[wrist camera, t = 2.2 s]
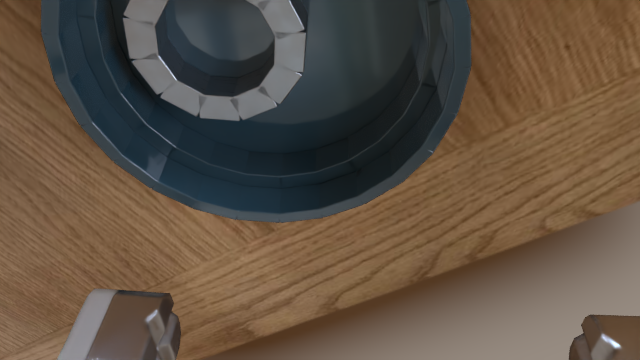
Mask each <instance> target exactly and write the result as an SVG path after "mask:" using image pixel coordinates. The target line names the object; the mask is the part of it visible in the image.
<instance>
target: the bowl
mask: <svg viewBox="0 0 640 360" xmlns="http://www.w3.org/2000/svg"><path fill="white" fill-rule="evenodd" d="M128 1H129V0H41V32H42V38H43V42H44V45H45V49H46V53H47V56H48V60H49V63H50V67H51V70H52V74H53V78H54V81H55V82H56V85H57V87H58V89H59V90H60V92H61V94H62V96H63V97H64V99H65V101H66V103H67V104H68V106H69V108H70V110H71V111H72V113H73V115H74V116H75V118H76V120H77V122H78V123H79V125H81V128H82V129H83V130H84V131H85V132H86V133H87V134H88V135H89V136H90V137H91V138H92V139H93V141H94V142H95V143H96V144H97V145H98V146H99V147H100V148H101V149H102V150H103V151H104V152H105V154H106V155H107V156H108V157H109V158H110V159H111V160H112V161H114V163H116V164H117V165H118V166H120V167H121V168H123V169H124V170H125V171H127V172H128V173H130V174H131V175H132V176H134V177H135V178H136V179H138V180H139V181H141V182H142V183H143V184H145V185H146V186H148V187H149V188H152V190H154V191H156V192H159V193H161V194H163V195H165V196H167V197H169V198H171V199H174V200H176V201H178V202H180V203H182V204H184V205H187V206H189V207H191V208H193V209H196V210H200V211H204V212H207V213H211V214H215V215H219V216H223V217H227V218H231V219H235V220H236V219H237V220H248V221H262V222H276V223H280V222H281V223H284V222H292V221H301V220H310V219H318V218H323V217H327V216H330V215H333V214H337V213H340V212H343V211H346V210H349V209H352V208H355V207H358V206H361V205H363V204H366V203H368V202H370V201H371V200H373V199H375V198H376V197H378V196H380V195H382V194H383V193H385V192H387V191H388V190H390V189H392V188H394V187H395V186H397V185H399V184H400V183H402V182H404V181H405V180H406V179H407V178H408V177H409V176H410V175H411V174H412V173H413V172H414V171H415V170H416V169H417V168H418V167H419V166H420V165H421V164H423V163H424V162H425V161H426V160H427V159H428V158H429V157H430V156H431V155H432V154H433V153H434V151H435V150H436V148H437V146H438V145H439V143H440V141H441V140H442V138H443V137H444V135H445V133H446V132H447V130H448V129H449V127H450V125H451V124H452V122H453V121H454V119H455V117H456V116H457V113H458V112H459V108H460V105H461V101H462V98H463V94H464V91H465V87H466V84H467V80H468V77H469V73H470V70H471V15H470V10H469V7H468V4H467V1H466V0H301V1H302V3H303V5H304V7H305V9H306V11H307V16H308V26H307V41H306V56H305V66H304V72H303V74H302V77H301V78H300V79H299V81H298V82H297V83H296V85H295V86H294V87H293V89H292V90H291V91H290V93H289V94H288V95H287V97H286V98H285V99H284V101H283V102H282V103H281V104H278V106H277V107H275V108H273V109H271V110H268V111H266V112H263V113H261V114H258V115H256V116H253V117H251V118H248V119H246V120H242V119H241V118H240V121H231V120H218V119H204V118H200V117H199V114H198V116H197V117H195V116H194V115H192V114H190V113H188V112H186V111H184V110H182V109H180V108H178V107H177V106H175V105H173V104H171V103H169V102H167V101H165V100H163V99H162V98H160V94H161V93H160V94H158V95H157V94H156V93H155V92H154V91H153V90H152V88H151V87H150V86H149V84H148V83H147V82H146V81H145V79H144V78H143V77H142V75H141V74H140V73H139V72H138V70H137V69H136V68H135V66H134V65H133V64H132V62H131V61H132V59H130V58H129V55H128V49H127V43H126V37H125V31H124V25H123V19H122V18H123V16H124V15H123V12H124V10H125V8H126V6H127V3H128ZM165 18H166V26H167V35H168V39H169V41H170V42H171V43H172V45H173V46H174V48H175V49H176V50H177V52H178V53H179V55H180V56H181V57H182V59H183V60H184V62H186V63H188V64H190V65H191V66H193V67H195V68H197V69H198V70H200V71H202V72H204V73H206V74H207V75H209V76H217V77H229V78H240V77H242V76H245V75H247V74H249V73H252V72H254V71H256V70H259V69H261V68H263V66H264V65H265V63H266V62H267V60H268V59H269V58H270V56H271V55H272V53H273V52H274V34H273V33H272V31H271V29H270V27H269V26H268V24H267V22H266V20H265V19H264V17H263V15H262V13H261V12H260V10H259V8H257V7H256V6H254V5H253V4H251V3H249V2H248V1H246V0H170V1H169V3H168V5H167V7H166V9H165Z"/></svg>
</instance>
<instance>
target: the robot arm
mask: <svg viewBox="0 0 640 360" xmlns="http://www.w3.org/2000/svg"><path fill="white" fill-rule="evenodd" d="M173 304H174V302H173V300H172V297H171V295H170V293H156V292H141V291H126V290H114V289H94V290H93V291H92V292H91V293H90V294H89V295H88V296H87V298H86V300H85V302H84V304H83V306H82V308H81V311H80V313H79V315H78V317H77V319H76V321H75V323H74V325H73V327H72V329H71V331H70V333H69V336H68V338H67V340H66V342H65V344H64V346H63V348H62V350H61V352H60V354H59V356H58V358H57V360H176V357H177V354H178V350H179V345H180V336H181V329H180V322H179V318H178V316H177V315H175V314H174V313H173V312H171V310H172V307H173ZM581 326H582V329H583V332H584V333H583V334H581V335H579V336H578V337H576V338H574V340H573V342H572V345H571V347H570V352H569V360H640V316H616V315H615V316H614V315H589V316H587V317H585V319H584V321H583V323H582V325H581Z"/></svg>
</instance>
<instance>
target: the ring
mask: <svg viewBox="0 0 640 360" xmlns="http://www.w3.org/2000/svg"><path fill="white" fill-rule="evenodd" d="M169 1H170V0H129V1H128V3H127V6H126V8H125V10H124V12H123V15H124V16H123V18H122V19H123V25H124V31H125V37H126V43H127V49H128V55H129V58H130V59H132V61H131V62H132V64H133V65H134V66H135V68H136V69H137V70H138V72H139V73H140V74H141V75H142V77H143V78H144V79H145V81H146V82H147V83H148V84H149V86H150V87H151V88H152V90H153V91H154V92H155V93H156V94H157V95H158V94H160V93H161V94H160V98H162V99H163V100H165V101H167V102H169V103H171V104H173V105H175V106H177V107H178V108H180V109H182V110H184V111H186V112H188V113H190V114H192V115H194V116H195V117H197V116H198V114H199V117H200V118H204V119H218V120H231V121H240V118H241V119H242V120H246V119H248V118H251V117H253V116H256V115H258V114H261V113H263V112H266V111H268V110H271V109H273V108H275V107H277V106H278V104H281V103H282V102H283V101H284V99H285V98H286V97H287V95H288V94H289V93H290V91H291V90H292V89H293V87H294V86H295V85H296V83H297V82H298V81H299V79H300V78H301V77H302V74H303V72H304V66H305V56H306V41H307V26H308V16H307V11H306V9H305V7H304V5H303V3H302V1H301V0H246V1H248V2H249V3H251V4H253V5H254V6H256V7H257V8H259V10H260V12H261V13H262V15H263V17H264V19H265V20H266V22H267V24H268V26H269V27H270V29H271V31H272V33H273V34H274V52H273V53H272V55H271V56H270V58H269V59H268V60H267V62H266V63H265V65H264V66H263V68H261V69H259V70H256V71H254V72H252V73H249V74H247V75H245V76H242V77H240V78H229V77H217V76H209V75H207V74H206V73H204V72H202V71H200V70H198V69H197V68H195V67H193V66H191V65H190V64H188V63H186V62H184V60H183V59H182V57H181V56H180V55H179V53H178V52H177V50H176V49H175V48H174V46H173V45H172V43H171V42H170V41H169V39H168V35H167V26H166V18H165V9H166V7H167V5H168V3H169Z"/></svg>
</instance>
